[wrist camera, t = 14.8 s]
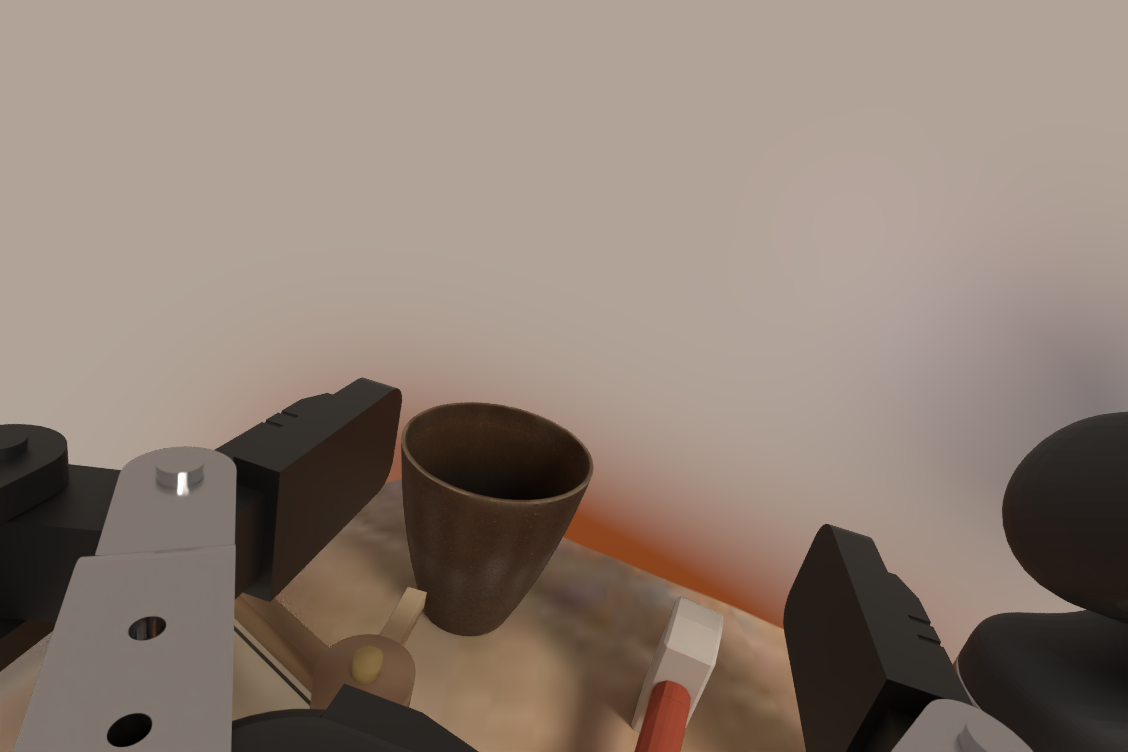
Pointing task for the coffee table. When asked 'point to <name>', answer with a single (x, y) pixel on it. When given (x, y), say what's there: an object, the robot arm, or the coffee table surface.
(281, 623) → the board
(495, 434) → the plant pot
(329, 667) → the cylinder
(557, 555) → the coffee table surface
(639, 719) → the mallet
